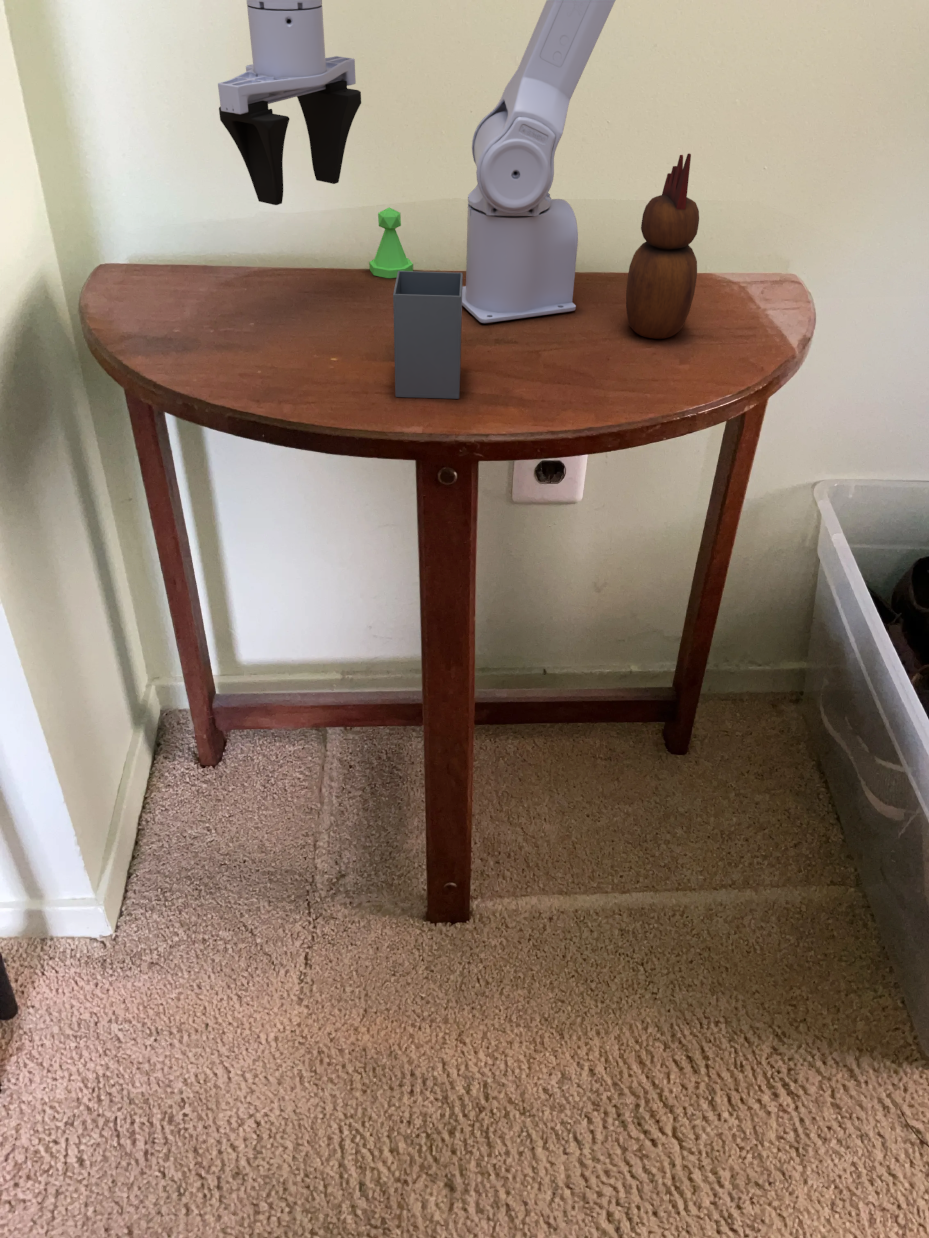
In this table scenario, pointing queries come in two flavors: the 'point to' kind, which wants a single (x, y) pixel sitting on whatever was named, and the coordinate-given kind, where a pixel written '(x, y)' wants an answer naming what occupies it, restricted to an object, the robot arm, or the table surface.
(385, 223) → the game piece
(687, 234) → the wooden figurine
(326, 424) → the table surface
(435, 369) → the bin
